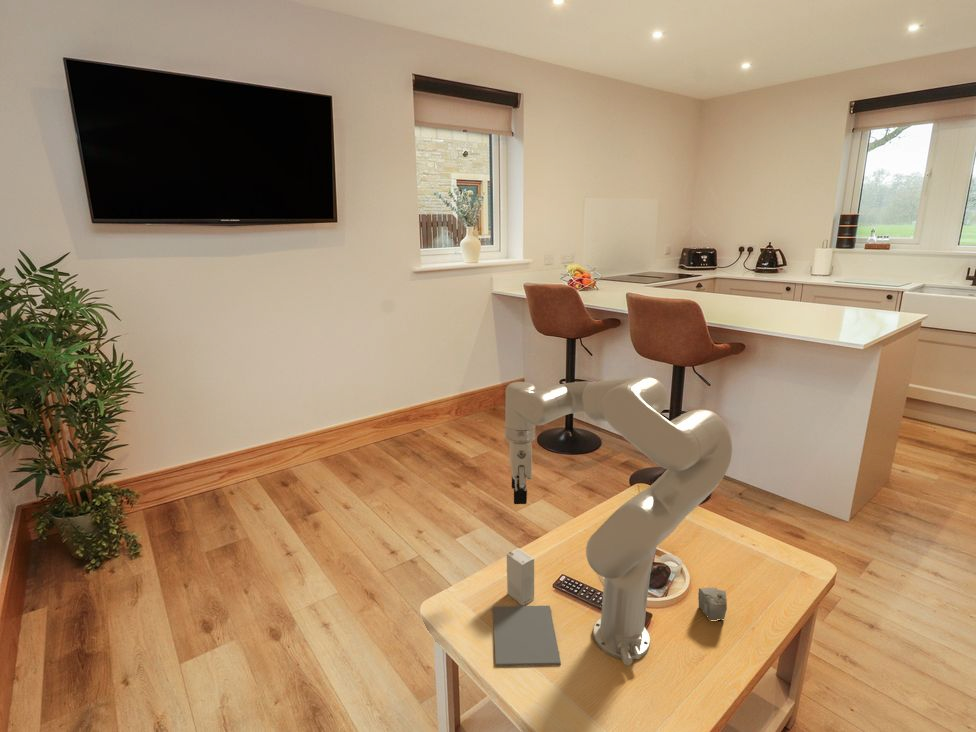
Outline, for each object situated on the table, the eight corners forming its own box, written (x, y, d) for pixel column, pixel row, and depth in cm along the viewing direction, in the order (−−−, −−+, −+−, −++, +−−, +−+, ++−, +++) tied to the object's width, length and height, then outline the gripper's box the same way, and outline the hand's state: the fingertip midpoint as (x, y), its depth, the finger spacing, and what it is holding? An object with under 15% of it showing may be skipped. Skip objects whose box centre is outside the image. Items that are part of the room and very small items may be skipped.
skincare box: (534, 599, 132) (536, 558, 128) (521, 607, 129) (522, 565, 125) (518, 586, 136) (519, 546, 133) (505, 593, 133) (506, 553, 130)
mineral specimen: (685, 605, 129) (695, 577, 127) (717, 609, 130) (727, 581, 128) (700, 627, 122) (711, 598, 120) (734, 631, 123) (745, 602, 121)
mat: (560, 664, 113) (560, 662, 112) (495, 666, 112) (495, 663, 112) (549, 607, 129) (549, 605, 129) (492, 608, 128) (493, 606, 128)
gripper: (539, 446, 121) (537, 514, 126) (531, 418, 138) (529, 479, 143) (507, 446, 121) (506, 514, 126) (503, 418, 138) (502, 479, 143)
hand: (518, 495), depth 134 cm, fingers open, 6 cm apart
